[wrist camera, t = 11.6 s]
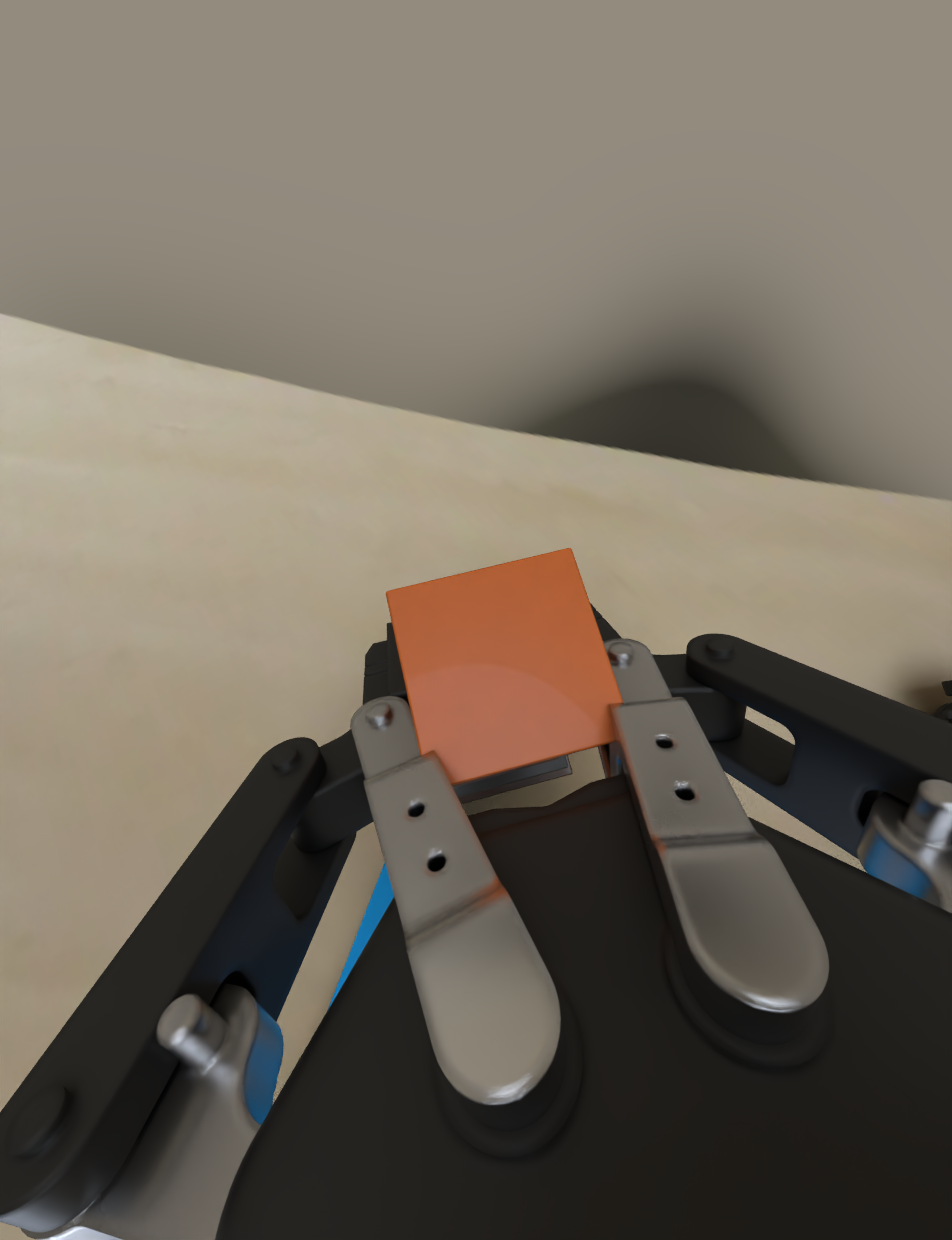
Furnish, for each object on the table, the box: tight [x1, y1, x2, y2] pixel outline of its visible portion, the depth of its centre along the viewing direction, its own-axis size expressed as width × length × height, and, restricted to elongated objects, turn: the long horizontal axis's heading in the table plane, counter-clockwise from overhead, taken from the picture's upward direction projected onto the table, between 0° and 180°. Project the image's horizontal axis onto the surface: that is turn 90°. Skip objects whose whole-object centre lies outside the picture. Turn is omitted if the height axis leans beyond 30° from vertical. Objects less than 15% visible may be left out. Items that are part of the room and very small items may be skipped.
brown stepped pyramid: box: [452, 755, 572, 804], centre depth 24 cm, size 8×8×7 cm
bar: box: [386, 548, 623, 786], centre depth 12 cm, size 4×4×9 cm
